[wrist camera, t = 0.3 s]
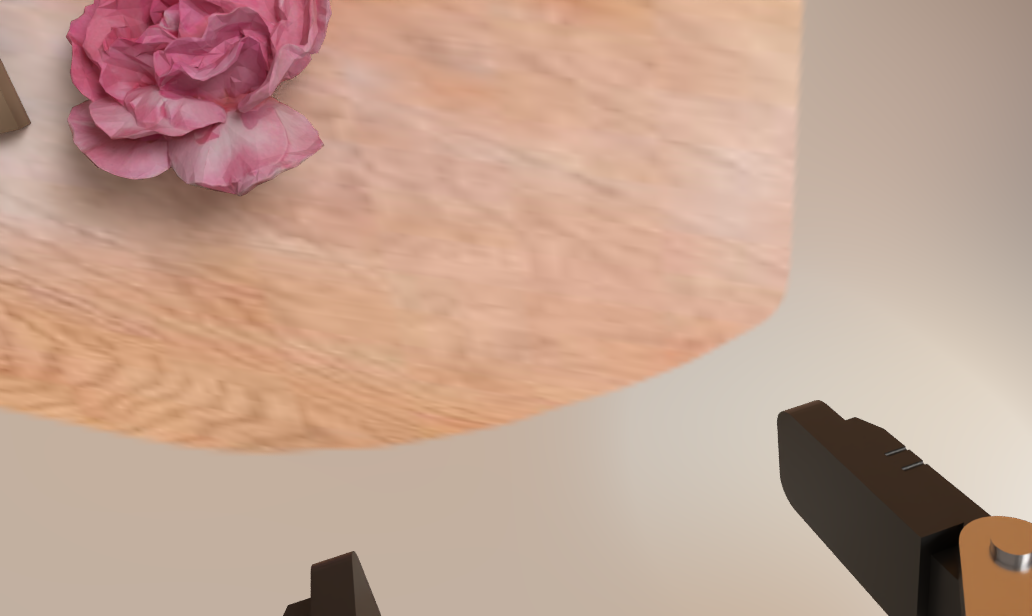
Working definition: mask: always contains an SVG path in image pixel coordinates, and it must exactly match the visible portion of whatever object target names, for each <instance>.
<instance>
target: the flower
mask: <svg viewBox="0 0 1032 616" xmlns="http://www.w3.org/2000/svg"><path fill="white" fill-rule="evenodd" d="M331 14H332V12H331V7H330V2H329V0H94V4H92V5H89V6H86V7H85V9H84V14H83V15H81V16H80V17H79V18H78V19H75V20H73V21H71V24H70V29H69V31H68V33H67V36H66V38H67V39H68V41H69V42H70V44H71V45H72V64H71V70H70V74H71V79H72V83H73V84H74V85H75V86H76V88H77V89H78V90H79V91H80V92H81V94H83V95H84V96H86V97H87V98H89V99H90V100H87V101H85V102H83V103H81V104H79V105H77V106H75V107H73V108H72V110H71V112H70V115H69V117H68V119H67V120H68V123H69V126H70V129H71V132H72V136H73V141H74V143H75V144H76V145H77V146H78V148H79V149H80V151H82V152H83V153H84V155H86V156H87V157H88V158H89V159H90V160H91V161H92V162H93V163H94V164H95V165H96V166H97V167H98V168H100V169H102V170H105V171H107V172H109V173H111V174H114V175H117V176H120V177H124V178H129V179H135V180H140V179H146V178H151V177H156V176H158V175H159V174H161V173H163V172H164V171H166V170H168V169H169V168H170V167H172V168H173V169H174V171H175V172H176V174H177V175H178V177H180V178H181V179H182V180H183V181H184V182H185V183H187V184H190V185H194V186H198V187H202V188H206V189H210V190H215V191H220V192H226V193H232V194H236V195H238V196H242V195H245V194H247V193H248V192H249V191H251V190H252V189H253V188H255V187H256V186H257V185H260V184H262V183H264V182H267V181H269V180H272V179H273V178H275V177H276V176H278V175H279V174H280V173H282V172H284V171H287V170H289V169H292V168H294V167H297V166H298V165H299V164H301V163H302V162H303V161H305V160H306V159H308V158H309V157H310V156H312V155H313V154H314V153H316V152H317V151H318V150H319V149H321V148H322V147H323V146H324V144H323V142H322V140H321V139H320V138H319V134H318V131H317V130H316V129H314V128H313V126H312V124H311V123H310V122H309V121H308V119H307V118H306V117H305V116H304V115H302V114H300V113H299V112H297V111H295V110H294V109H292V108H291V107H289V106H288V105H285V104H283V103H281V102H278V101H277V100H276V99H275V98H273V97H271V95H272V94H273V92H274V91H275V89H276V87H277V86H279V84H280V83H281V82H283V81H285V80H289V79H292V78H294V77H295V76H297V75H298V74H300V73H301V72H302V71H303V69H304V68H305V67H306V66H307V65H308V63H309V62H310V61H311V60H312V59H311V56H310V54H314V53H318V52H319V49H320V47H321V45H322V43H323V41H324V39H325V36H326V31H327V26H328V22H329V19H330V17H331Z"/></svg>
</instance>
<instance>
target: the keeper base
mask: <svg viewBox="0 0 1032 616" xmlns="http://www.w3.org/2000/svg"><path fill="white" fill-rule="evenodd" d="M30 123H31V122H30V120H29V118H28V116H27V114H26V111H25V109H24V107H23V105H22V103H21V101H20V99H19V97H18V95H17V93H16V91H15V88H14V86H13V84H12V82H11V80H10V78H9V76H8V74H7V72H6V70H5V68H4V65H3V63H2V61H1V59H0V134H1V133H5V132H10V131H14V130H18V129H21V128H23V127H25V126H26V125H28V124H30Z"/></svg>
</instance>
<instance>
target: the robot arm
mask: <svg viewBox="0 0 1032 616" xmlns="http://www.w3.org/2000/svg"><path fill="white" fill-rule="evenodd" d="M777 429H778V448H779V465H780V466H779V467H780V478H781V483H782V487H783V490H784V492H785V494H786V496H787V499H788V500H789V502H790V504H791V505H792V507H793V508H794V509H795V510H796V512H797V513H798V514H799V515H800V516H801V517H802V518H803V519H804V521H805V522H806V523H807V524H808V525H809V526H810V527H811V529H812V530H813V531H814V532H815V533H816V534H817V535H818V537H819V538H820V539H821V540H822V541H823V542H824V543H825V544H826V546H827V547H828V548H829V549H830V550H831V551H832V552H833V553H834V555H835V556H836V557H837V558H838V559H839V560H840V561H841V562H842V564H843V565H844V566H845V567H846V568H847V569H848V570H849V572H850V573H851V574H852V575H853V576H854V577H855V578H856V579H857V581H858V582H859V583H860V584H861V585H862V586H863V587H864V588H865V590H866V591H867V592H868V593H869V594H870V595H871V596H872V598H873V599H874V600H875V601H876V602H877V603H878V604H879V605H880V606H881V608H882V609H883V610H884V611H885V612H886V613H887V614H888V616H1032V523H1030V522H1027V521H1025V520H1021V519H1017V518H1012V517H1005V516H990V515H989V514H988V513H987V512H985V511H984V510H983V509H982V508H981V507H979V506H978V505H977V504H976V503H974V502H973V501H972V500H971V499H969V498H968V497H967V496H966V495H965V494H963V493H962V492H961V491H960V490H958V489H957V488H956V487H954V485H952V484H951V483H950V482H948V481H947V480H946V479H945V478H944V477H942V476H941V475H940V474H939V473H938V472H936V471H935V470H934V469H933V468H931V467H930V466H929V465H928V464H924V463H923V460H921V459H920V458H919V457H918V456H917V455H915V454H914V453H913V452H912V451H910V450H906V448H905V446H904V445H903V444H902V443H901V442H899V441H898V440H897V439H896V438H894V437H893V436H892V435H891V434H890V433H888V432H887V431H886V430H885V429H883V428H881V427H878V426H876V425H873V424H871V423H868V422H866V421H864V420H861V419H859V418H856V417H854V418H851V419H848V420H844V419H843V418H842V417H841V416H839V415H838V414H837V413H836V412H835V411H834V410H832V409H831V408H830V407H829V406H828V405H827V404H825V403H824V402H822V401H820V400H816V401H812V402H809V403H807V404H803V405H801V406H797V407H794V408H791V409H788V410H785V411H782V412H780V413H779V415H778V418H777ZM283 616H381V614H380V611H379V609H378V606H377V604H376V601H375V599H374V596H373V594H372V591H371V589H370V586H369V584H368V581H367V579H366V576H365V574H364V571H363V569H362V566H361V563H360V561H359V559H358V556H357V554H356V553H355V552H354V551H352V552H349V553H346V554H343V555H340V556H337V557H334V558H331V559H328V560H325V561H322V562H319V563H316V564H313V565H312V566H311V598H308V599H305V600H303V601H299V602H297V603H293V604H290V605H288V606H287V608H286V611H285V613H284V615H283Z"/></svg>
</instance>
